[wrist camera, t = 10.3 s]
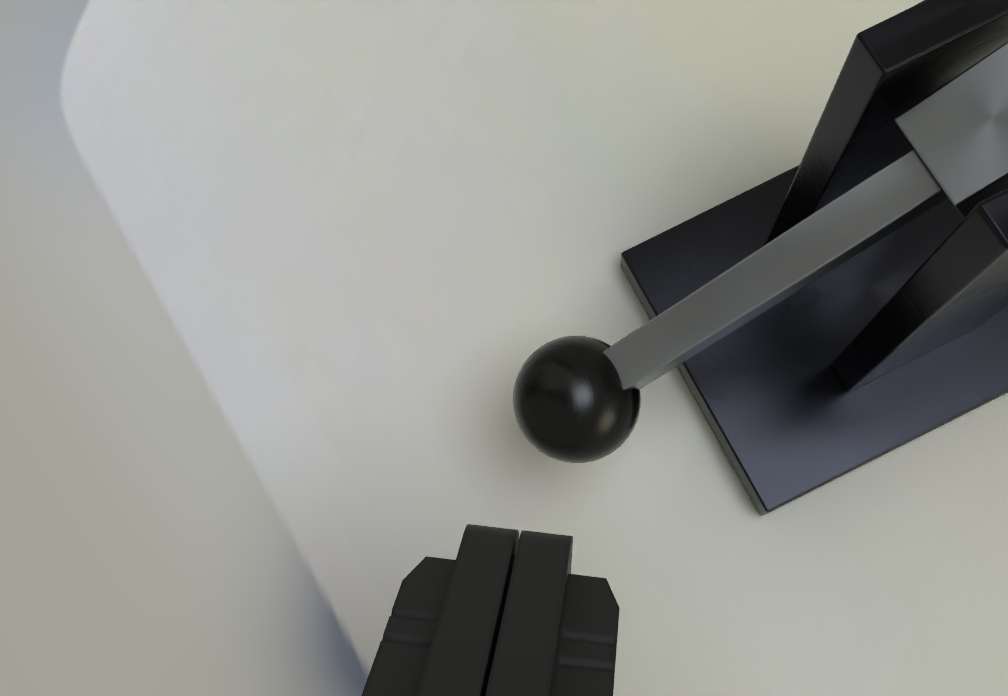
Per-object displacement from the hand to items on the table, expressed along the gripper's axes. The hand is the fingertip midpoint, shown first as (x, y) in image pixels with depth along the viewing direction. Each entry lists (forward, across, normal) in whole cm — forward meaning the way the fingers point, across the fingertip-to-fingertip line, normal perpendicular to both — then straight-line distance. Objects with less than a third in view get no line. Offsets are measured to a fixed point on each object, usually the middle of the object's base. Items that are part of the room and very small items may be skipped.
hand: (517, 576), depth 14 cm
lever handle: (+12, -5, +1) cm, 12 cm away
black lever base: (+18, -8, +4) cm, 20 cm away
